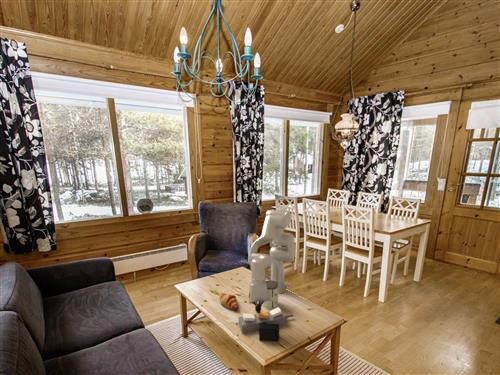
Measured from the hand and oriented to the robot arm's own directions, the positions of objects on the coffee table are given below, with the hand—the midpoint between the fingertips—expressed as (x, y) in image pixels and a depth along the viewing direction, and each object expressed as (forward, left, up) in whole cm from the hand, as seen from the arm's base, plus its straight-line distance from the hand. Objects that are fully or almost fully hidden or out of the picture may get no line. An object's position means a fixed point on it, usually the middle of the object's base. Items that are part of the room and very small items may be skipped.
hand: (258, 311), depth 138 cm
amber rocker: (-3, 0, -2) cm, 3 cm away
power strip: (-5, 0, -8) cm, 10 cm away
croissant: (+12, -26, -8) cm, 30 cm away
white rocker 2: (-11, 0, -2) cm, 11 cm away
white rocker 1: (+5, 0, -2) cm, 6 cm away
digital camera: (-3, +11, -8) cm, 14 cm away
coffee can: (-14, -17, -8) cm, 23 cm away
